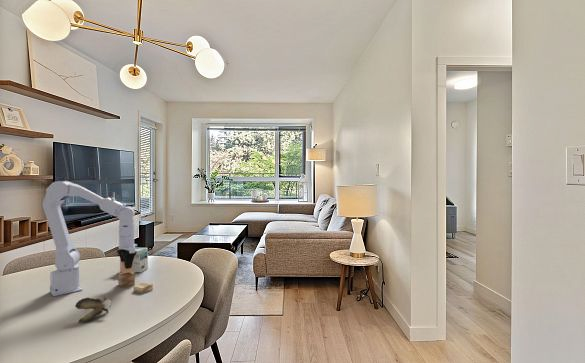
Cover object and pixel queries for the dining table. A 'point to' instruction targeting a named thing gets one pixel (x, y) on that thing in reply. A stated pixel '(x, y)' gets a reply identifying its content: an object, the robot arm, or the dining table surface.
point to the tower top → (126, 276)
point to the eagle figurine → (92, 307)
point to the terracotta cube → (123, 269)
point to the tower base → (126, 283)
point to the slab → (143, 287)
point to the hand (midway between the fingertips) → (126, 267)
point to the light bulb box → (140, 260)
